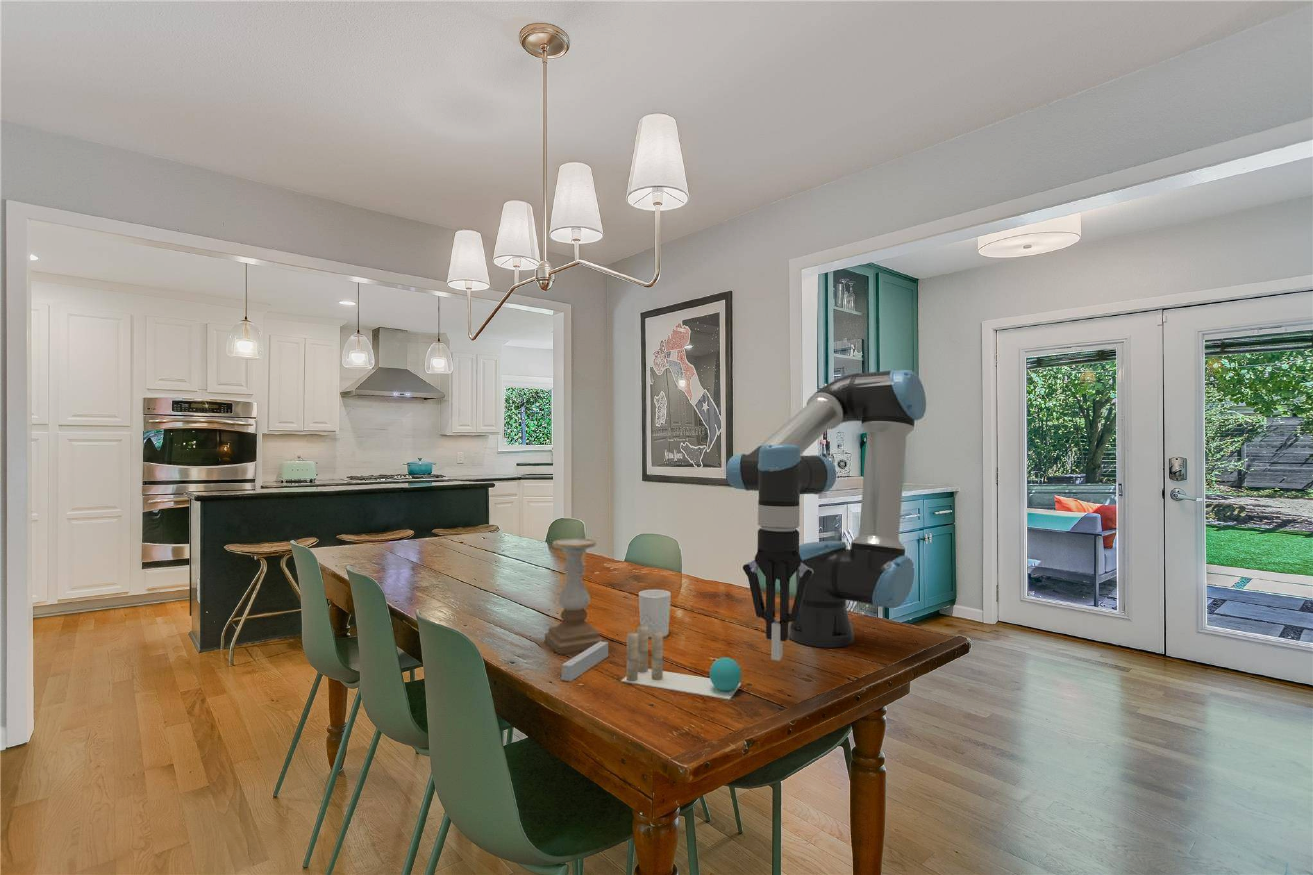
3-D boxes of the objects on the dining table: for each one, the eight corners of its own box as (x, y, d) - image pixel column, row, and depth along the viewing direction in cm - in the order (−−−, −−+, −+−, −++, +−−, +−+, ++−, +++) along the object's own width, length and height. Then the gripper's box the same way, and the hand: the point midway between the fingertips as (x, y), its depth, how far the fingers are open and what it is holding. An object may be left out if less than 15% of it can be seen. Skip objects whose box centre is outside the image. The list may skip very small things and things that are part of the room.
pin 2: (649, 670, 128) (649, 626, 128) (645, 674, 126) (645, 629, 126) (639, 669, 128) (640, 625, 129) (635, 672, 126) (635, 628, 126)
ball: (744, 686, 119) (745, 655, 119) (736, 698, 114) (736, 665, 114) (714, 682, 121) (715, 651, 122) (705, 693, 116) (705, 661, 116)
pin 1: (639, 678, 123) (639, 633, 123) (634, 682, 121) (635, 636, 121) (629, 677, 124) (629, 631, 124) (624, 681, 122) (624, 635, 122)
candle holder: (558, 655, 137) (559, 546, 137) (543, 641, 146) (544, 539, 147) (604, 647, 142) (605, 543, 142) (587, 634, 152) (588, 536, 152)
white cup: (671, 629, 156) (672, 589, 156) (669, 639, 148) (669, 597, 148) (640, 628, 157) (640, 589, 157) (636, 638, 149) (636, 596, 149)
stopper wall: (608, 656, 136) (608, 642, 136) (570, 681, 121) (570, 666, 121) (600, 654, 137) (600, 641, 137) (561, 679, 122) (561, 664, 122)
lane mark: (741, 684, 120) (741, 683, 120) (729, 699, 113) (729, 698, 113) (637, 668, 129) (637, 667, 129) (621, 681, 122) (621, 680, 122)
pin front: (664, 677, 124) (664, 632, 124) (660, 681, 122) (660, 635, 122) (654, 676, 124) (654, 631, 125) (649, 680, 122) (650, 634, 123)
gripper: (817, 528, 115) (816, 656, 114) (748, 524, 120) (747, 647, 119) (811, 532, 108) (809, 669, 108) (738, 528, 113) (736, 658, 113)
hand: (776, 657), depth 113 cm, fingers closed
